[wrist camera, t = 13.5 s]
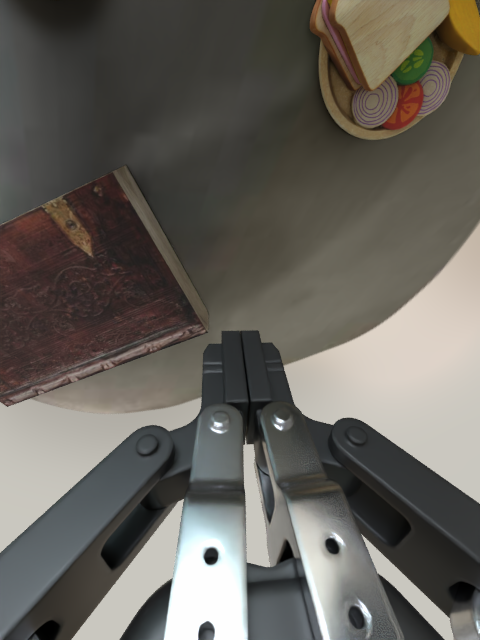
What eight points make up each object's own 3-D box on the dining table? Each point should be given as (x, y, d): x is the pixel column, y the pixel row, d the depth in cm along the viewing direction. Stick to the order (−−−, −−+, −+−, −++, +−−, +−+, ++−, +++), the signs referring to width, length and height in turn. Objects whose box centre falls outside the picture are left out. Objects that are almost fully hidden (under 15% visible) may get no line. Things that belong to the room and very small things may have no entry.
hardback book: (27, 382, 42) (7, 410, 38) (-106, 274, 31) (-152, 297, 27) (208, 313, 38) (208, 336, 34) (126, 164, 28) (112, 171, 24)
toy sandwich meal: (349, 168, 30) (370, 175, 26) (281, 14, 23) (296, -7, 19) (474, 74, 26) (521, 66, 22) (438, -139, 19) (496, -204, 15)
